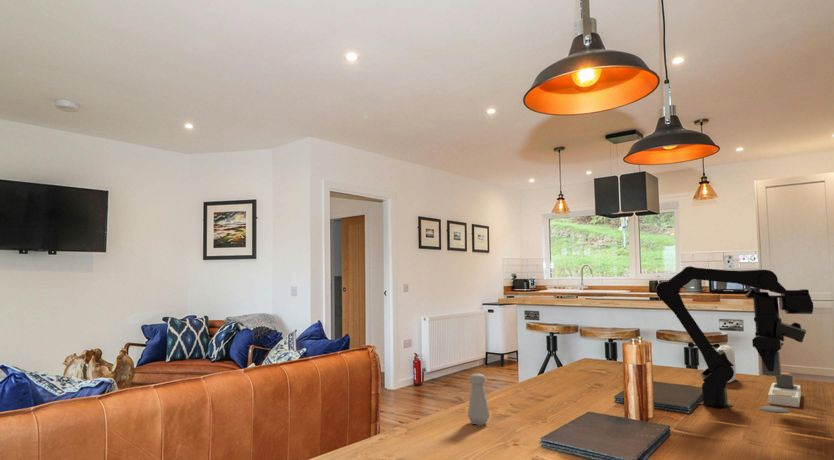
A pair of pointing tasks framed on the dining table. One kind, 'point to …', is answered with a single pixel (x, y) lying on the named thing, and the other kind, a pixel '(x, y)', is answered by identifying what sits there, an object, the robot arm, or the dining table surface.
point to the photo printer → (729, 358)
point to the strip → (785, 391)
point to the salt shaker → (478, 400)
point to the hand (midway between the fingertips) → (771, 369)
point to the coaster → (774, 409)
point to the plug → (776, 367)
